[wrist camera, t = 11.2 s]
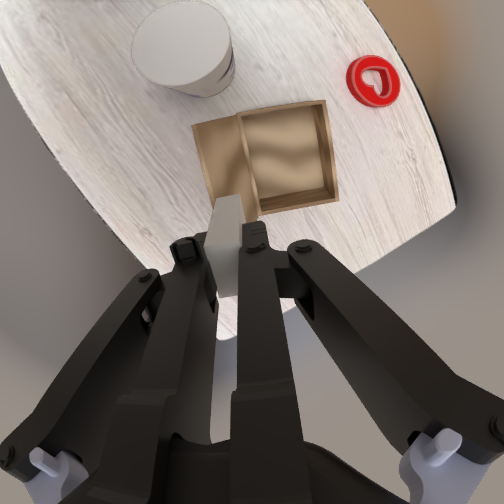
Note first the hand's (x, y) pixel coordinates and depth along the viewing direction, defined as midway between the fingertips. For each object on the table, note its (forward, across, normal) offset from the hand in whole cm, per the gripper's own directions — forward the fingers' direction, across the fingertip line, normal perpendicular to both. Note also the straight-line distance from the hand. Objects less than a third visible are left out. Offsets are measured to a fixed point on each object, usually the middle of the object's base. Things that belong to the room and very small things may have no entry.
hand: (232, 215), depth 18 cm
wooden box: (+31, +8, -2) cm, 32 cm away
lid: (+16, -1, -2) cm, 17 cm away
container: (+31, -3, +15) cm, 35 cm away
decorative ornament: (+31, +26, +10) cm, 41 cm away
